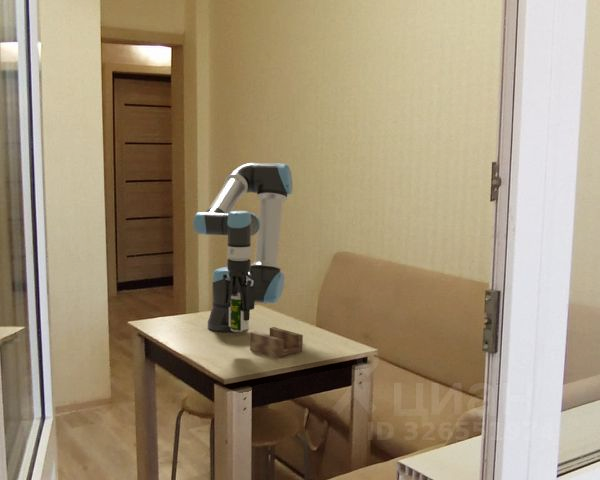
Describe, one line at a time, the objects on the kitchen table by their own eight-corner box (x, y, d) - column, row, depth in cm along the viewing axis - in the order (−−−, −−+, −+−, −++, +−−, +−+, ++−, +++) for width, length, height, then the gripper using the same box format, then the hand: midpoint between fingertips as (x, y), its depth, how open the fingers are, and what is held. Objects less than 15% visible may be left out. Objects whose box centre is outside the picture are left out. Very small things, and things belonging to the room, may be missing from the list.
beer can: (238, 326, 231) (238, 292, 229) (249, 329, 228) (250, 294, 226) (226, 330, 227) (227, 294, 225) (238, 333, 224) (238, 297, 222)
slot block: (250, 349, 233) (250, 332, 232) (273, 343, 241) (273, 327, 240) (278, 358, 223) (279, 340, 223) (302, 352, 231) (302, 334, 231)
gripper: (212, 256, 227) (212, 323, 231) (249, 264, 215) (248, 335, 218) (229, 253, 233) (229, 320, 236) (266, 261, 220) (265, 331, 224)
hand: (238, 327), depth 227 cm, fingers closed on beer can, 5 cm apart
